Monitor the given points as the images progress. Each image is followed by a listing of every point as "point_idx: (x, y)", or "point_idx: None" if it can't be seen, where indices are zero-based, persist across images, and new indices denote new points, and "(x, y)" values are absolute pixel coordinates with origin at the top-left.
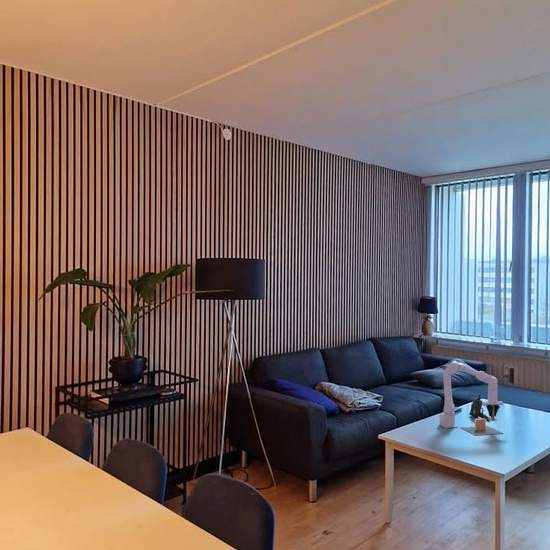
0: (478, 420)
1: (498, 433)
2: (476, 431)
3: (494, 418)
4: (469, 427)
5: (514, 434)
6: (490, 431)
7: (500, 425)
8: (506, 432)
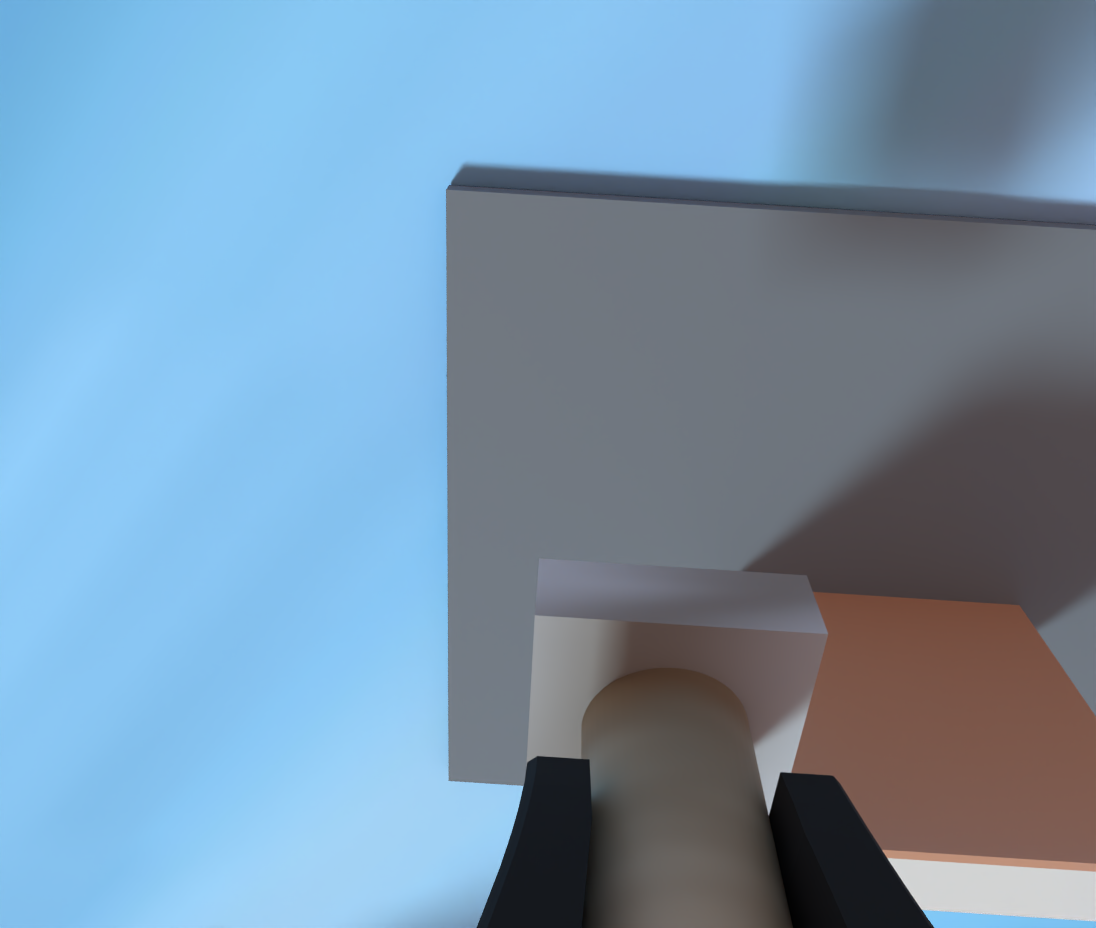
0: (1077, 830)
1: (626, 200)
2: None
3: (575, 706)
4: None
5: (88, 9)
6: (719, 429)
7: (76, 749)
8: (246, 272)
